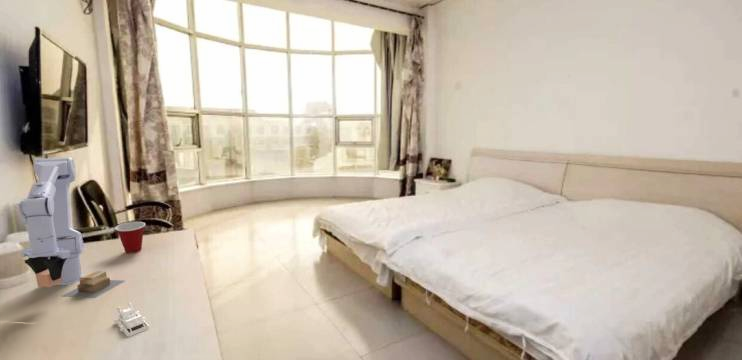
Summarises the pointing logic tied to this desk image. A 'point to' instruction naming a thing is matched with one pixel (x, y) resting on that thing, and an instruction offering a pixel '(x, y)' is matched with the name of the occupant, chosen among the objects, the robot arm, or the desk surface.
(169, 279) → the desk surface
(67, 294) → the mat
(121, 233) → the plastic cup
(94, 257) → the desk surface
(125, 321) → the toy car
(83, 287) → the tower base
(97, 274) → the tower middle
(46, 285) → the cube
